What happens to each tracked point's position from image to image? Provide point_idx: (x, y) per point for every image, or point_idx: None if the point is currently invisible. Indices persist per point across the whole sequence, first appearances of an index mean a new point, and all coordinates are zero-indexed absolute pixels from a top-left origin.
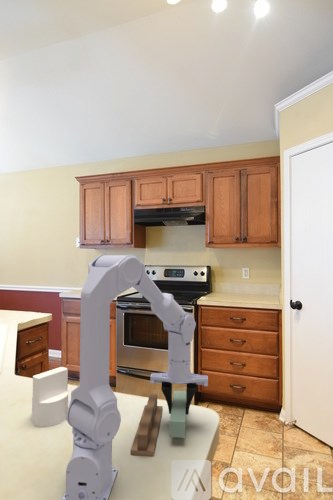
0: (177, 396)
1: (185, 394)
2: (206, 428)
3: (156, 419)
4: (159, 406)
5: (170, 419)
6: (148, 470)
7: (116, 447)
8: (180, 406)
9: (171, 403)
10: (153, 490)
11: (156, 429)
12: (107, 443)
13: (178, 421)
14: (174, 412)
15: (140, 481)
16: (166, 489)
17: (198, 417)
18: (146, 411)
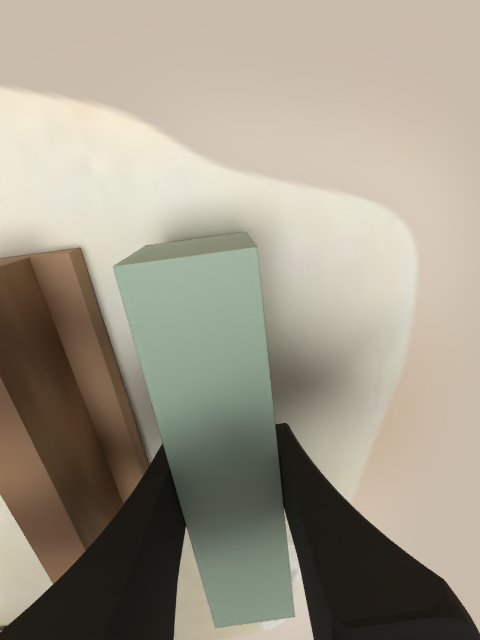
0: (187, 381)
1: (257, 327)
2: (365, 377)
3: (100, 407)
4: (48, 261)
5: (215, 617)
6: (184, 595)
7: (32, 551)
8: (245, 506)
9: (177, 530)
10: (218, 631)
11: (136, 478)
12: None
13: (260, 619)
14: (221, 567)
15: (177, 621)
16: (248, 623)
17: (325, 286)
18: (36, 533)
